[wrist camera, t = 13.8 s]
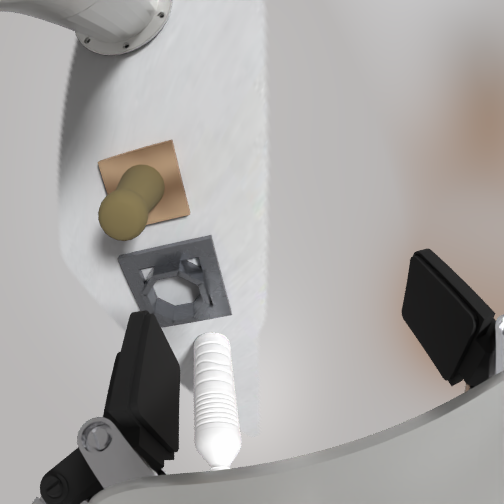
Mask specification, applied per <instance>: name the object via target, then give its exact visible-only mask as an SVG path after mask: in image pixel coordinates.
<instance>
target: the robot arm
mask: <svg viewBox="0 0 504 504" xmlns="http://www.w3.org/2000/svg"><path fill="white" fill-rule="evenodd" d="M171 7H172V0H0V11H5V12H15V13H20V14H24V15H28V16H32V17H35V18H39V19H42V20H45V21H48V22H51V23H54V24H57V25H60V26H62V27H65V28H68V29H71V30H73V31H75V33H76V36H77V38H78V39H79V41H80V42H81V44H82V45H83V46H84V47H86V48H87V49H89V50H90V51H93V52H95V53H98V54H102V55H119V54H124V53H128V52H131V51H133V50H135V49H138V48H140V47H141V46H143V45H145V44H146V43H148V42H149V41H150V40H151V39H153V38H154V37H155V36H156V35H157V34H158V33H159V31H160V30H161V29H162V28H163V26H164V25H165V23H166V21H167V20H168V17H169V15H170V12H171ZM162 15H164V17H163V18H160V16H162ZM89 40H90V42H89V43H88V41H89ZM127 45H129V47H128V48H126V46H127ZM494 315H495V313H494V312H493V311H492V309H491V308H490V307H489V306H488V305H487V304H486V303H485V302H484V301H483V300H482V299H481V298H480V297H479V296H478V295H477V294H476V293H475V292H474V291H473V290H472V289H471V288H470V287H469V286H468V285H467V284H466V283H465V282H464V281H463V280H462V279H461V278H460V277H459V276H458V275H457V274H456V273H455V272H454V271H453V270H452V269H451V268H450V267H449V266H448V265H447V264H446V263H445V262H443V261H442V260H441V259H440V258H439V257H438V256H437V255H436V254H435V253H434V252H432V251H431V250H430V249H424V250H420V251H417V252H415V253H414V255H413V257H411V260H410V266H409V273H408V279H407V286H406V291H405V297H404V302H403V307H402V316H403V319H404V320H405V321H406V323H407V324H408V326H409V327H410V329H411V330H412V332H413V333H414V335H415V336H416V338H417V339H418V341H419V342H420V343H421V345H422V346H423V348H424V349H425V351H426V352H427V354H428V355H429V357H430V358H431V360H432V361H433V363H434V364H435V366H436V367H437V369H438V371H439V372H440V374H441V375H442V377H443V378H444V379H445V380H448V381H449V383H450V384H451V386H453V385H455V384H457V383H459V382H461V381H462V380H463V379H464V381H465V382H466V386H465V393H463V394H461V395H459V396H458V397H456V398H454V399H452V400H450V401H449V402H446V403H444V404H442V405H440V406H438V407H436V408H434V409H432V410H430V411H428V412H426V413H424V414H421V415H419V416H417V417H415V418H413V419H410V420H408V421H406V422H403V423H401V424H399V425H396V426H394V427H391V428H388V429H386V430H384V431H381V432H378V433H375V434H373V435H370V436H367V437H364V438H361V439H358V440H355V441H353V442H349V443H346V444H343V445H339V446H336V447H333V448H329V449H326V450H322V451H318V452H314V453H311V454H307V455H303V456H299V457H294V458H290V459H285V460H280V461H275V462H270V463H264V464H259V465H253V466H246V467H239V468H232V469H224V470H216V471H206V472H196V473H183V474H182V473H181V474H170V475H168V474H167V473H166V472H165V470H164V469H163V467H164V460H174V452H177V451H178V449H179V391H180V366H179V363H178V361H177V359H176V357H175V355H174V353H173V351H172V349H171V347H170V345H169V343H168V341H167V339H166V337H165V335H164V333H163V331H162V329H161V327H160V325H159V323H158V321H157V319H156V317H155V315H154V314H153V313H152V314H150V313H149V312H148V311H147V310H145V311H139V312H133V313H131V315H130V318H129V321H128V325H127V329H126V333H125V337H124V341H123V345H122V349H121V352H119V353H118V354H117V356H116V359H115V363H114V367H113V372H112V376H111V380H110V385H109V390H108V394H107V399H106V404H105V409H104V415H103V417H97V418H92V419H90V420H88V421H87V422H86V423H85V424H83V426H82V427H81V428H80V430H79V432H78V436H77V444H78V446H79V447H78V448H77V449H76V450H75V451H73V452H72V453H71V454H70V455H69V456H67V457H66V458H65V459H64V460H62V461H61V462H60V463H59V464H57V465H56V466H55V467H54V468H52V469H51V470H50V471H49V472H47V473H46V474H45V475H44V477H43V478H42V481H41V484H40V493H41V498H38V497H36V499H35V500H34V502H33V503H32V504H504V315H501V316H500V317H498V318H497V320H496V321H495V319H494Z"/></svg>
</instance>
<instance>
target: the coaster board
mask: <svg viewBox="0 0 504 504" xmlns="http://www.w3.org/2000/svg"><path fill="white" fill-rule="evenodd" d="M139 164H142V165H148V166H151V167H153V168H155V169H156V170H157V171H158V172H159V173H160V175H161V176H162V178H163V181H164V185H165V188H164V194H163V197H162V199H161V200H160V201H159V202H158V204H157V205H156V206H155V207H154V208H153V209H152V210H151V211H150V212H149V213H148V221H147V224H146V225H148V224H152V223H156V222H160V221H165V220H169V219H173V218H178V217H182V216H186V215H190V209H189V205H188V202H187V198H186V194H185V190H184V186H183V182H182V178H181V174H180V170H179V166H178V162H177V158H176V153H175V149H174V145H173V141H172V140H169V141H165V142H161V143H157V144H154V145H150V146H146V147H143V148H139V149H136V150H133V151H129V152H126V153H123V154H119V155H116V156H113V157H110V158H107V159H104V160H101V161H99V162H98V165H99V168H100V172H101V175H102V178H103V181H104V185H105V188H106V191H107V194H110V193H111V192H113V191H115V190H116V188H117V186H118V184H119V182H120V179H121V177H122V175H123V174H124V173H125V172H126V170H127V169H129V168H131V167H132V166H135V165H139Z"/></svg>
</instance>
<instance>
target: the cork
mask: <svg viewBox="0 0 504 504" xmlns="http://www.w3.org/2000/svg"><path fill="white" fill-rule="evenodd" d="M164 188H165V185H164V181H163V178H162V176H161V175H160V173H159V172H158V171H157V170H156V169H155V168H153V167H151V166H148V165H142V164H139V165H135V166H132V167H131V168H129V169H127V170H126V172H125V173H124V174H123V175H122V177H121V179H120V182H119V184H118V186H117V188H116V190H115V191H113V192H111V193H110V194H108V195H107V196H106V197H105V199H104V200H103V201H102V203H101V205H100V208H99V212H98V215H99V222H100V225H101V227H102V229H103V230H104V232H105V233H106V234H107V235H109V236H110V237H111V238H114V239H116V240H121V241H127V240H132V239H133V238H135V237H137V236H138V235H140V234H141V232H142V231H143V230H144V229H145V226H146V224H147V221H148V213H149V212H150V211H151V210H152V209H153V208H154V207H155V206H156V205H157V204H158V202H159V201H160V200H161V199H162V197H163V194H164Z"/></svg>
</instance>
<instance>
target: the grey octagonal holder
mask: <svg viewBox="0 0 504 504" xmlns="http://www.w3.org/2000/svg"><path fill="white" fill-rule="evenodd" d="M196 257H199V260H200V264H201V267H202V268H200V267H198V266H197V265H195V264H193V263H191V262H189V261H187V260H186V259H191V258H196ZM118 261H119V263H120V265H121V268H122V270H123V272H124V275H125V277H126V279H127V281H128V284H129V286H130V288H131V290H132V292H133V295H134V297H135V299H136V301H137V303H138V305H139V307H140V309H141V311H145V310H147V311H148V312H149V313H150V314H152V313H153V314H154V315H155V317H156V319H157V321H158V323H159V325H160V327H167V326H173V325H179V324H185V323H191V322H196V321H202V320H207V319H213V318H218V317H223V316H229V315H232V313H231V308H230V305H229V301H228V297H227V294H226V290H225V286H224V282H223V279H222V275H221V271H220V267H219V263H218V259H217V256H216V252H215V248H214V244H213V240H212V236H211V235H209V236H205V237H200V238H195V239H191V240H186V241H181V242H177V243H172V244H168V245H163V246H159V247H154V248H150V249H145V250H141V251H136V252H132V253H128V254H123V255H119V257H118ZM153 266H154V267H153ZM148 267H153V268H152V270H151V272H150V273H149V275H148V277H147V279H146V280H145V279H144V276H143V274H142V271H141V269H143V268H148ZM174 276H180V277H182V278H184V279H186V280H188V281H190V282H192V283H194V284H196V285H198V287H199V290H200V294H199V296H198V297H197V298H196V300H195V301H194V302H193V303H187V304H182V305H177V306H174V305H172V304H170V303H168V302H166V301H164V300H162V299H160V298H157V295H156V293H155V290H154V288H153V285H154V283H155V282H156V280H159V279H164V278H169V277H174ZM209 294H210V297H211V300H212V303H210V298H209Z"/></svg>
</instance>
